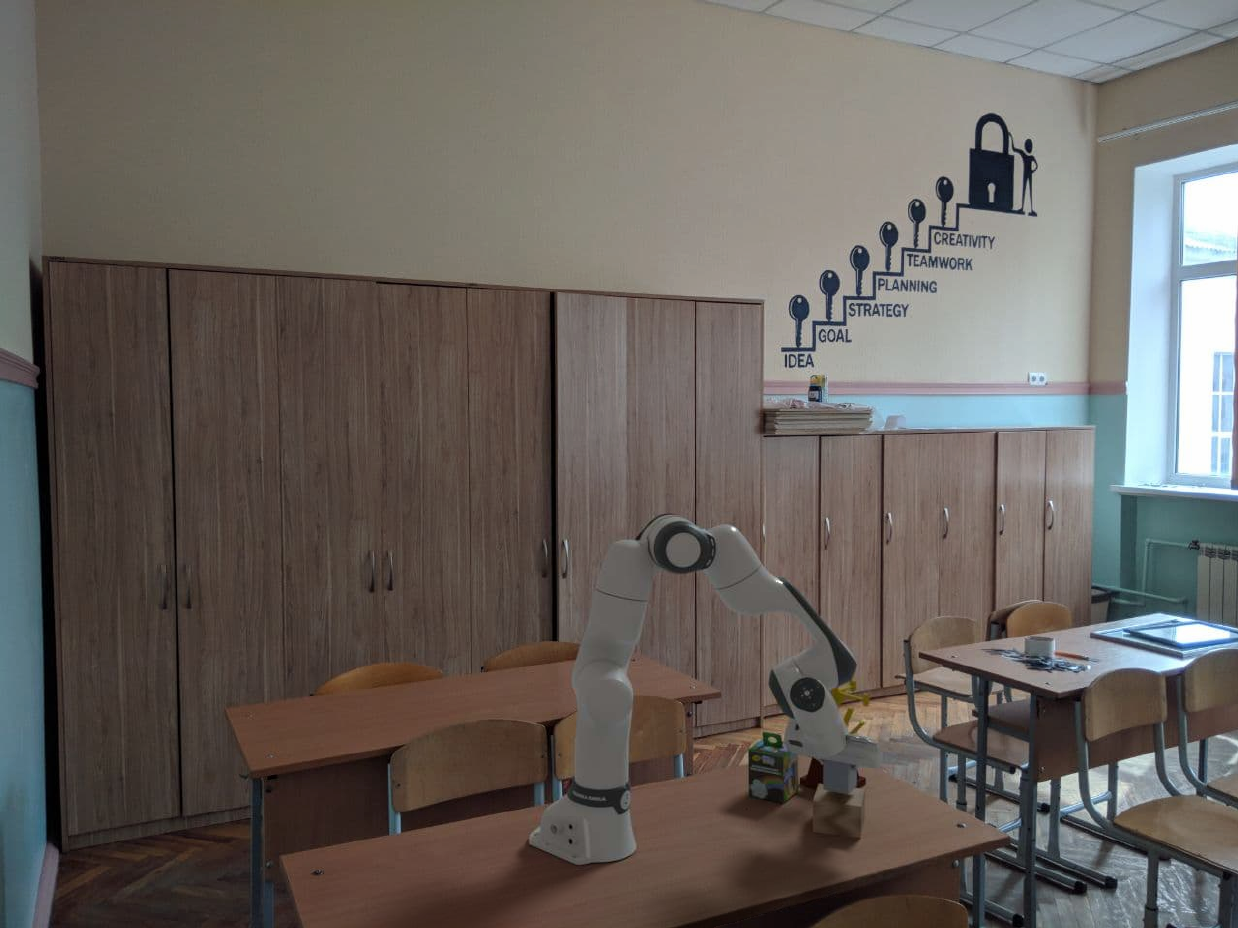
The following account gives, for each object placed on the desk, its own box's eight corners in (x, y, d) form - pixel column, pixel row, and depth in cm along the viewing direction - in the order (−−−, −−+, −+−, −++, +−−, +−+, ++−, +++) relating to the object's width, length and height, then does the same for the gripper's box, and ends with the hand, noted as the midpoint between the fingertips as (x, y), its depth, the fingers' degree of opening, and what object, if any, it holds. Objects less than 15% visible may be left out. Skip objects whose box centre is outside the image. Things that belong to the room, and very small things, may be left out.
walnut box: (812, 832, 209) (813, 800, 209) (818, 814, 219) (818, 783, 219) (860, 838, 206) (861, 806, 206) (864, 820, 216) (864, 788, 215)
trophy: (793, 772, 244) (794, 653, 242) (855, 772, 244) (857, 653, 242) (805, 795, 229) (806, 668, 228) (871, 795, 229) (873, 668, 228)
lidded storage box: (822, 789, 211) (822, 748, 211) (831, 780, 216) (831, 740, 216) (848, 794, 208) (849, 753, 208) (857, 785, 213) (857, 745, 213)
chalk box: (799, 791, 232) (799, 729, 231) (784, 804, 224) (784, 740, 223) (762, 783, 237) (763, 723, 236) (746, 796, 229) (747, 733, 228)
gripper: (878, 727, 200) (892, 760, 209) (784, 711, 211) (800, 743, 219) (872, 755, 196) (885, 787, 205) (776, 738, 207) (793, 769, 216)
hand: (841, 764), depth 212 cm, fingers closed on lidded storage box, 5 cm apart
